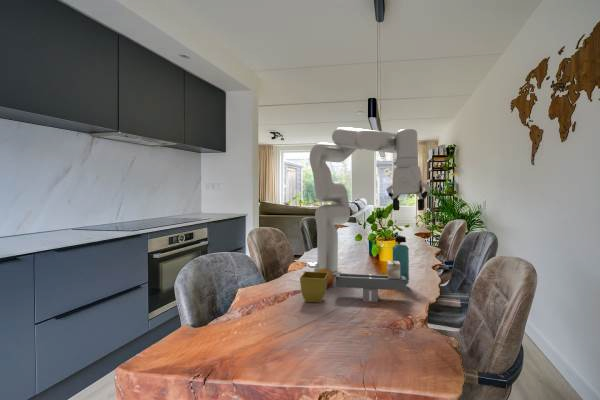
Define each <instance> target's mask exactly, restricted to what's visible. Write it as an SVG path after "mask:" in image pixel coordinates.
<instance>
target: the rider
mask: <svg viewBox="0 0 600 400" xmlns="http://www.w3.org/2000/svg"><path fill="white" fill-rule="evenodd" d="M386 275H387V276H388V278H389V279H400V263H399V261H393V260H386Z"/></svg>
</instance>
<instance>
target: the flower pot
mask: <svg viewBox="0 0 600 400" xmlns="http://www.w3.org/2000/svg"><path fill="white" fill-rule="evenodd" d="M299 282H300V291H301V295H302V297H303V299H304V301H305V302H306V303H316V304H317V303H318V304H319V303H322V301H323V299H324V297H325V295H326V291H327V288H328V287H327V282H328V273H325V272H314V271H304V272H303V273H302V274H301V275H300V276H299Z"/></svg>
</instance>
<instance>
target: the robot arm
mask: <svg viewBox="0 0 600 400" xmlns="http://www.w3.org/2000/svg"><path fill="white" fill-rule="evenodd" d="M331 140H332V142H333V143H329V142H319V143H316V144H314V145H313V147H312V148H311V149H310V152H309V165H310V169H311V171H312V176H313V182H314V191H315V192H314V193H315V197H316V199H317V200H318V201H319V202H322V203H323V202H324V203H331V204H322V205H320V206H318V207H317V208H316V210H315V213H314V217H315V223H316V232H317V233H316V235H317V236H316V237H317V239H316V243H317V249H316V250H317V259H316V260H317V261H316V262H314V263H312V262H308V263H307V267H308V268H311V269H312V268H313V272H316V271H317V270H319V269H328V270H330V271H331V272H332V273H333V276H336V275H337V273H342V270H341V269H340V268H339V267H338V266H339V263H338V262H339V253H338V252H339V238H338V237H339V234H338V230H337V228H336V226H335V225H344V224H346V223H347V222H348V221H349V220H350V217H351V211H350V203H349V201H350V200H349V196H348V191H347V188H346V186H345V184H343V183H342V182H338V181H334V180H333V177H332V172H331V170H330V168H329V165H328V164H327V163H328V162H329V163H342V162H344V161H345V160H347V159H348V158H349V157H350V156H351V155H352V154H354V152H355V151H357V150H360V151H361V150H367V151H373V152H381V153H387V154H388V153H390V154H395V155H396V159H395V161H393V166H395V168H394V169H393V173H392V175H393V176H392V184H391V185H390V186H388V187H386V192H387V194H388V196H389V198H390V199H391V200H392V210H393V211H394V212H395V211H399V210H400V199H399V198H400V196H401V195H416V197H418V199H417V211H424V210H425V209H424V208H425V199H426V198H427V196H429V195H430V192H431V189H432V186H431V185H429V184H428V183H427V184H426V183H425V182H423V175H422V171H421V167H420V166H419V157H418V156H419V151H418V146H419V145H418V143H419V142H418V132H417V130H416V129H414V128H403V129H400V130H398V131H397V132H388V131H382V130H375V129H374V130H372V129H365V128H356V127H346V126H341V127H337V128H336V129H334V130H333V132H332V134H331ZM424 189H425V190H424ZM423 191H424V192H423Z"/></svg>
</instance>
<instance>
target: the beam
mask: <svg viewBox="0 0 600 400" xmlns="http://www.w3.org/2000/svg"><path fill="white" fill-rule="evenodd" d="M335 288H347V289H349V288H351V289H362V301H363V302H371V303H374V302H375V303H378V302H379V296H378V295H379V290H385V291H386V290H388V291H402V292H403V291H404V292H405V291H406V292H407V285H406V278H405V276H400V279H389V278H388V276H387V274H371V273H367V274H366V273H350V272H349V273H345V272H341V273H337V275H335Z"/></svg>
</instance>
